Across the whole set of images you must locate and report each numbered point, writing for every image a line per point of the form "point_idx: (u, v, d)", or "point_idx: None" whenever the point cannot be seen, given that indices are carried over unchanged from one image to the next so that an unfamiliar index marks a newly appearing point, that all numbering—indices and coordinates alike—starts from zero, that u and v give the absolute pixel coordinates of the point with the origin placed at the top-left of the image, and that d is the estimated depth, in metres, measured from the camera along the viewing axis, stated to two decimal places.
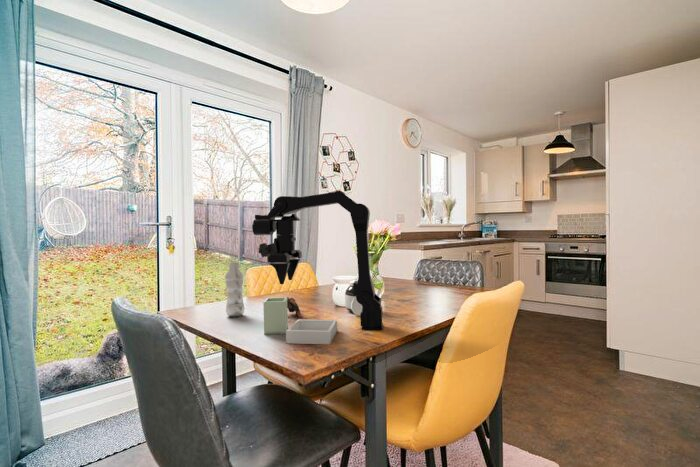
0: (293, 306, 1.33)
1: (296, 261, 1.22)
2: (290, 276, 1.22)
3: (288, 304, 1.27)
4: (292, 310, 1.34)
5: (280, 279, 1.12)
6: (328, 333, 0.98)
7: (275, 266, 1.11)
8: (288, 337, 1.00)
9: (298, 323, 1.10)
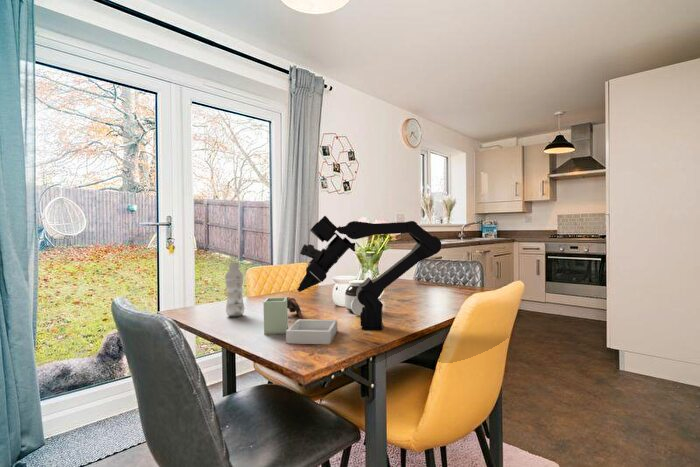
0: (294, 306, 1.33)
1: None
2: None
3: (289, 304, 1.26)
4: (293, 310, 1.33)
5: (301, 286, 1.07)
6: (328, 333, 0.98)
7: (308, 274, 1.06)
8: (288, 337, 1.00)
9: (298, 323, 1.10)
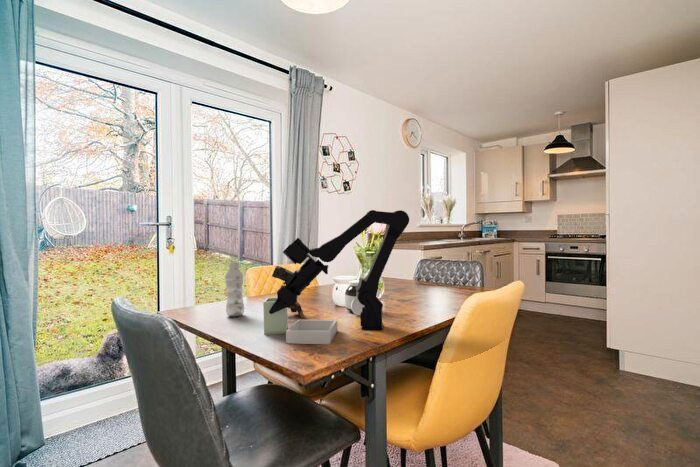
0: (295, 306, 1.33)
1: None
2: None
3: None
4: (294, 310, 1.33)
5: (272, 309, 1.08)
6: (328, 333, 0.98)
7: (279, 297, 1.06)
8: (288, 337, 1.00)
9: (298, 323, 1.10)
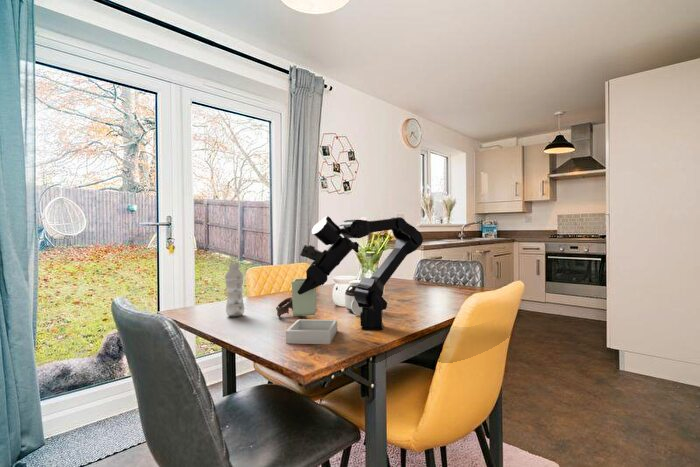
0: None
1: None
2: None
3: (292, 304, 1.26)
4: None
5: (301, 289, 1.03)
6: (328, 333, 0.98)
7: (308, 276, 1.02)
8: (288, 337, 1.00)
9: (298, 323, 1.10)
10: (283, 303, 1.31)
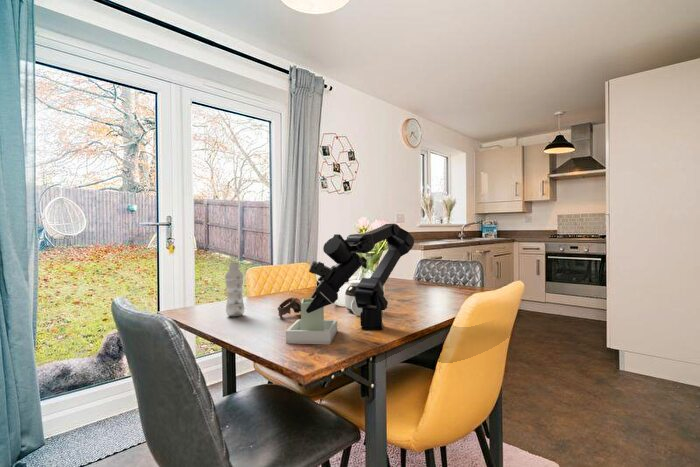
0: (298, 306, 1.32)
1: None
2: None
3: (294, 304, 1.26)
4: (297, 310, 1.33)
5: (310, 308, 1.00)
6: (328, 333, 0.98)
7: (318, 295, 0.99)
8: (288, 337, 1.00)
9: (298, 323, 1.10)
10: (284, 303, 1.31)
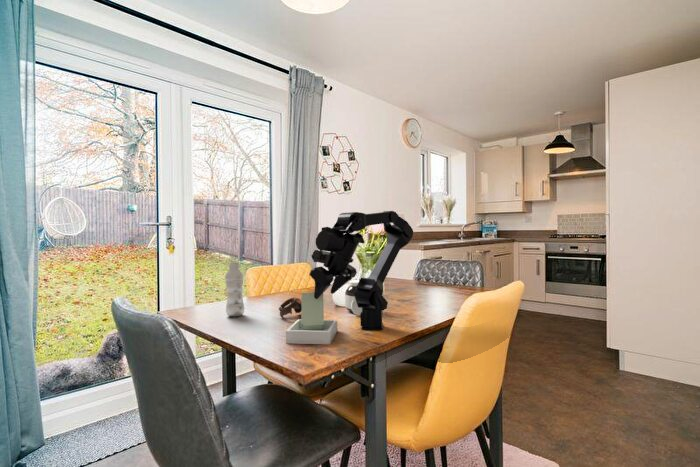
0: (299, 307, 1.32)
1: (345, 280, 1.13)
2: (333, 290, 1.14)
3: (295, 305, 1.25)
4: (298, 311, 1.32)
5: (315, 293, 1.06)
6: (328, 333, 0.98)
7: (316, 280, 1.04)
8: (288, 337, 1.00)
9: (298, 323, 1.10)
10: (286, 303, 1.30)
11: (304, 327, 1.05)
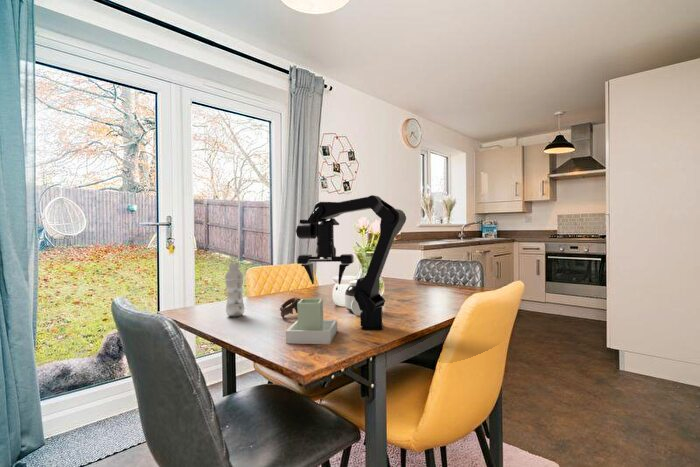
0: None
1: None
2: None
3: (296, 305, 1.25)
4: None
5: None
6: (328, 333, 0.98)
7: None
8: (288, 337, 1.00)
9: None
10: (286, 303, 1.30)
11: None
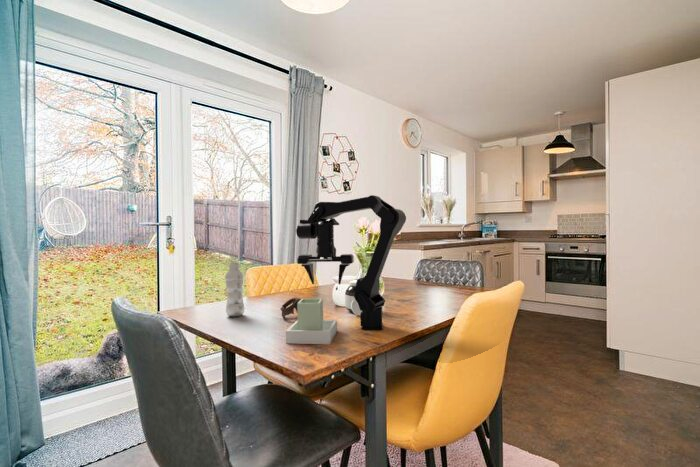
0: None
1: None
2: (338, 280, 1.21)
3: None
4: None
5: None
6: (328, 333, 0.98)
7: None
8: (288, 337, 1.00)
9: None
10: (287, 303, 1.30)
11: None
